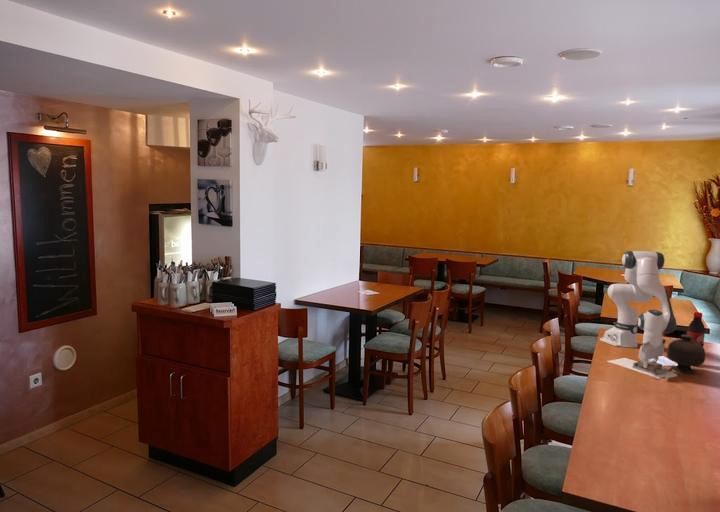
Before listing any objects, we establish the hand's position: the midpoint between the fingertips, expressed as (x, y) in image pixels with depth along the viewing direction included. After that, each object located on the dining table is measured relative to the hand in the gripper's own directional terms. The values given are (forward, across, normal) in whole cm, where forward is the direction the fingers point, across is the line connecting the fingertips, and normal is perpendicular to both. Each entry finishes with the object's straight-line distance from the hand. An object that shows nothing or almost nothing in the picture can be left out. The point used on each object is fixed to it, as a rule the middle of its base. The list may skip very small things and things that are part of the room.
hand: (649, 366), depth 282 cm
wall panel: (+4, +1, +5) cm, 6 cm away
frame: (+2, 0, 0) cm, 2 cm away
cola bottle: (+4, +38, -6) cm, 38 cm away
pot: (+4, +20, -9) cm, 22 cm away
